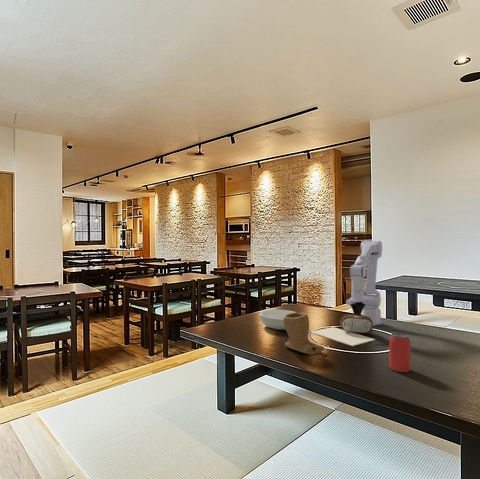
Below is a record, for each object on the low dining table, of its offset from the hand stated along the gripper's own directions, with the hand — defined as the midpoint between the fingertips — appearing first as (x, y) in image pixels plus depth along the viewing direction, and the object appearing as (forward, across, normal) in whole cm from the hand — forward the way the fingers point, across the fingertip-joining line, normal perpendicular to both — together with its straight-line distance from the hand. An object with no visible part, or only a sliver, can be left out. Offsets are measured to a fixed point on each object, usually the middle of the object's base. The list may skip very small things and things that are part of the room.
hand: (357, 318), depth 163 cm
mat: (+7, +11, 0) cm, 13 cm away
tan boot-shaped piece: (+7, +41, +4) cm, 42 cm away
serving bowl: (+7, +25, -27) cm, 38 cm away
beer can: (+7, +26, +37) cm, 46 cm away
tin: (+7, +1, 0) cm, 7 cm away
